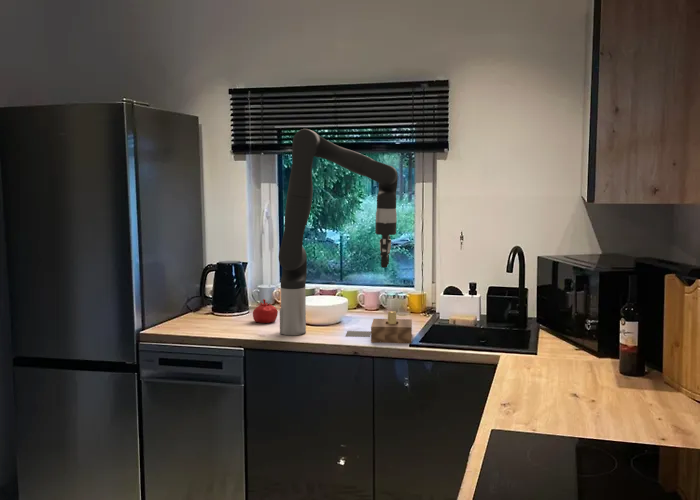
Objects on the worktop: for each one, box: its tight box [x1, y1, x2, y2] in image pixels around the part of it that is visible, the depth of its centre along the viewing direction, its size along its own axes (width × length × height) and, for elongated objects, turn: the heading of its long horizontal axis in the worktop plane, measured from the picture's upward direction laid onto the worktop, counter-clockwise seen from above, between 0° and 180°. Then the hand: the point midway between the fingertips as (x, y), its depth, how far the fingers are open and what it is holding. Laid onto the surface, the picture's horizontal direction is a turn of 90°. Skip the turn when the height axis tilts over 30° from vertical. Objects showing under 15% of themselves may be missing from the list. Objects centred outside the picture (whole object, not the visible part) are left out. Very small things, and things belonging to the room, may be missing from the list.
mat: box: [344, 330, 371, 338], centre depth 246 cm, size 9×9×1 cm
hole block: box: [370, 318, 413, 344], centre depth 239 cm, size 14×14×6 cm
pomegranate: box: [252, 298, 279, 324], centre depth 270 cm, size 10×10×9 cm
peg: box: [387, 310, 397, 324], centre depth 239 cm, size 3×3×10 cm
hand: (384, 265), depth 242 cm, fingers open, 8 cm apart
